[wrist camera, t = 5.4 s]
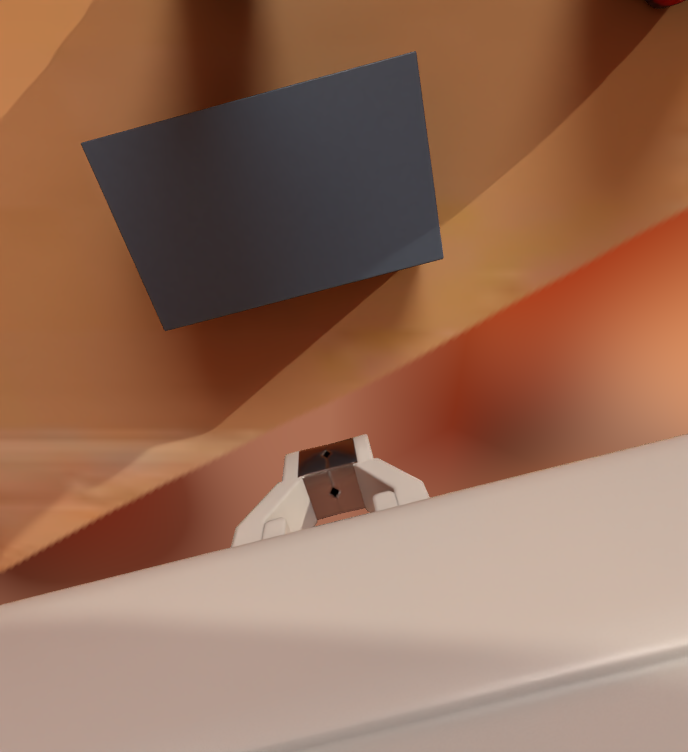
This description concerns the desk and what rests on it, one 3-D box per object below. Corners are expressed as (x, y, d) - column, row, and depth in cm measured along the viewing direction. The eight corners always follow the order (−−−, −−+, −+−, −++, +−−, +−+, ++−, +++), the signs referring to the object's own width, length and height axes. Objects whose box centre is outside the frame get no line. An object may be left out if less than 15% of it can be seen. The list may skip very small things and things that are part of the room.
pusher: (395, 83, 16) (416, 50, 13) (421, 251, 19) (444, 258, 16) (125, 157, 16) (79, 143, 13) (189, 312, 19) (164, 331, 16)
